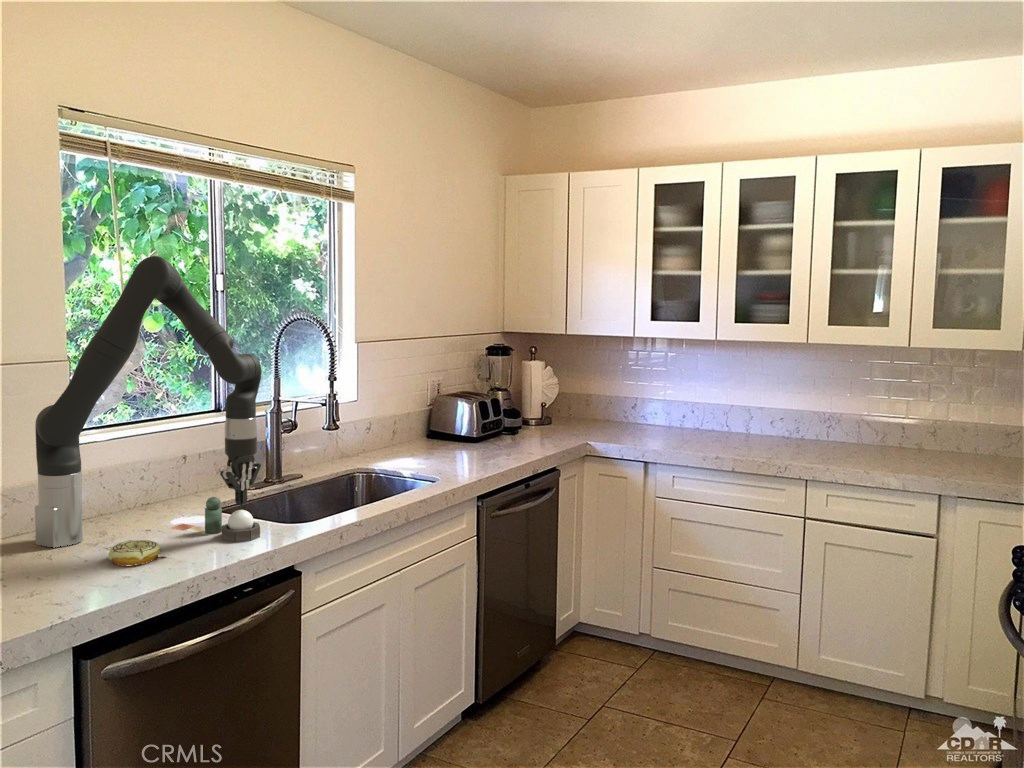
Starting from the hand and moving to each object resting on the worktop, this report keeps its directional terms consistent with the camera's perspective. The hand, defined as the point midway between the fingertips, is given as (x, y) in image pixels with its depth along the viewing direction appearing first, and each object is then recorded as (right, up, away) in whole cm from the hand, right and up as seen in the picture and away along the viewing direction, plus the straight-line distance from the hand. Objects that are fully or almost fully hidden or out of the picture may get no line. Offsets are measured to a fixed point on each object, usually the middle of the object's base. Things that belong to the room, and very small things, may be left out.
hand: (241, 504), depth 206 cm
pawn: (-8, -8, +4) cm, 12 cm away
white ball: (0, -7, +1) cm, 8 cm away
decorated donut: (-20, -11, -15) cm, 27 cm away
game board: (-8, -9, +4) cm, 12 cm away
